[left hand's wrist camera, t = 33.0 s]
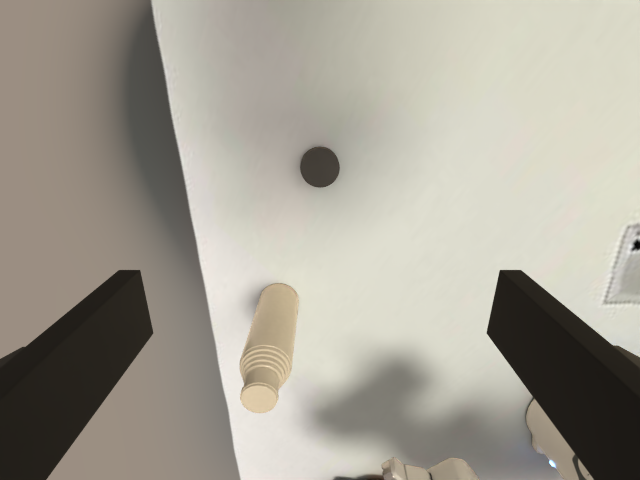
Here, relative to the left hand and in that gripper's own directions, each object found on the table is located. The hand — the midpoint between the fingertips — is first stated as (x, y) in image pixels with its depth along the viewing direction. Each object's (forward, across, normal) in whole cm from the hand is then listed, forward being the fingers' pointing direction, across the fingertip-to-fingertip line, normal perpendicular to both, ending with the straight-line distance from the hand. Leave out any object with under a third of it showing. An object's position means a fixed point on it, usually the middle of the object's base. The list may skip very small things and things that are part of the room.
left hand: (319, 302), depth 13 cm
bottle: (+31, -6, -19) cm, 37 cm away
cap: (+30, 0, 0) cm, 30 cm away
